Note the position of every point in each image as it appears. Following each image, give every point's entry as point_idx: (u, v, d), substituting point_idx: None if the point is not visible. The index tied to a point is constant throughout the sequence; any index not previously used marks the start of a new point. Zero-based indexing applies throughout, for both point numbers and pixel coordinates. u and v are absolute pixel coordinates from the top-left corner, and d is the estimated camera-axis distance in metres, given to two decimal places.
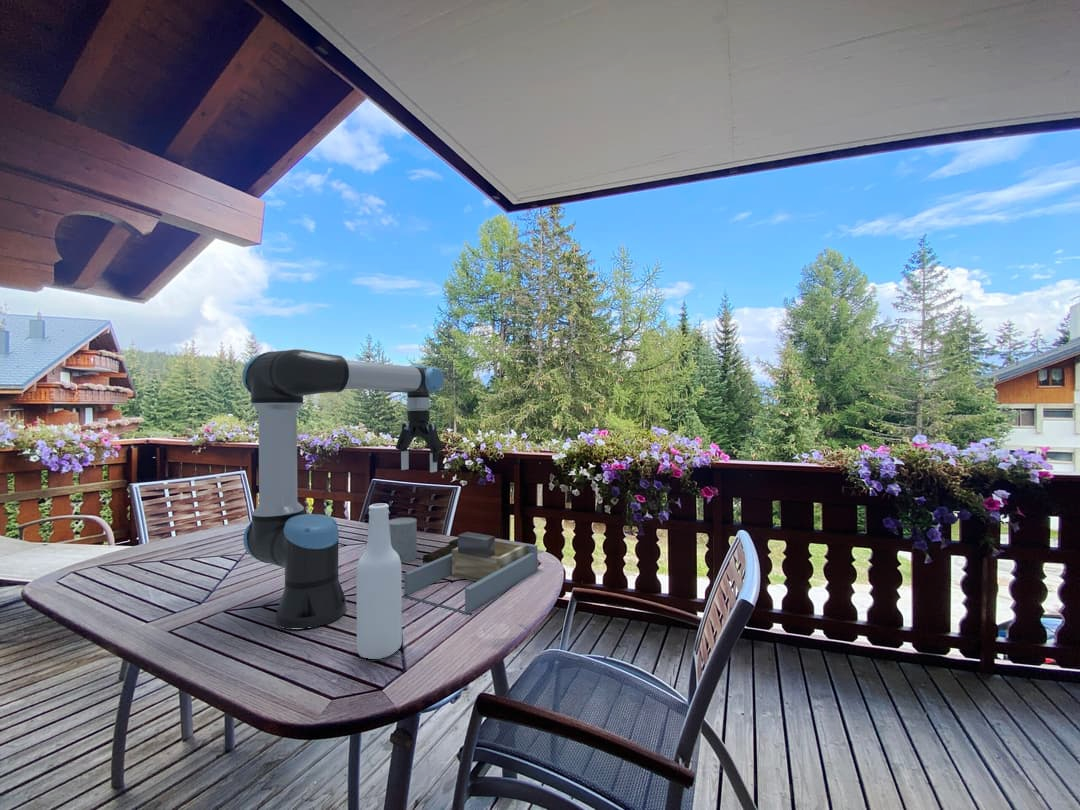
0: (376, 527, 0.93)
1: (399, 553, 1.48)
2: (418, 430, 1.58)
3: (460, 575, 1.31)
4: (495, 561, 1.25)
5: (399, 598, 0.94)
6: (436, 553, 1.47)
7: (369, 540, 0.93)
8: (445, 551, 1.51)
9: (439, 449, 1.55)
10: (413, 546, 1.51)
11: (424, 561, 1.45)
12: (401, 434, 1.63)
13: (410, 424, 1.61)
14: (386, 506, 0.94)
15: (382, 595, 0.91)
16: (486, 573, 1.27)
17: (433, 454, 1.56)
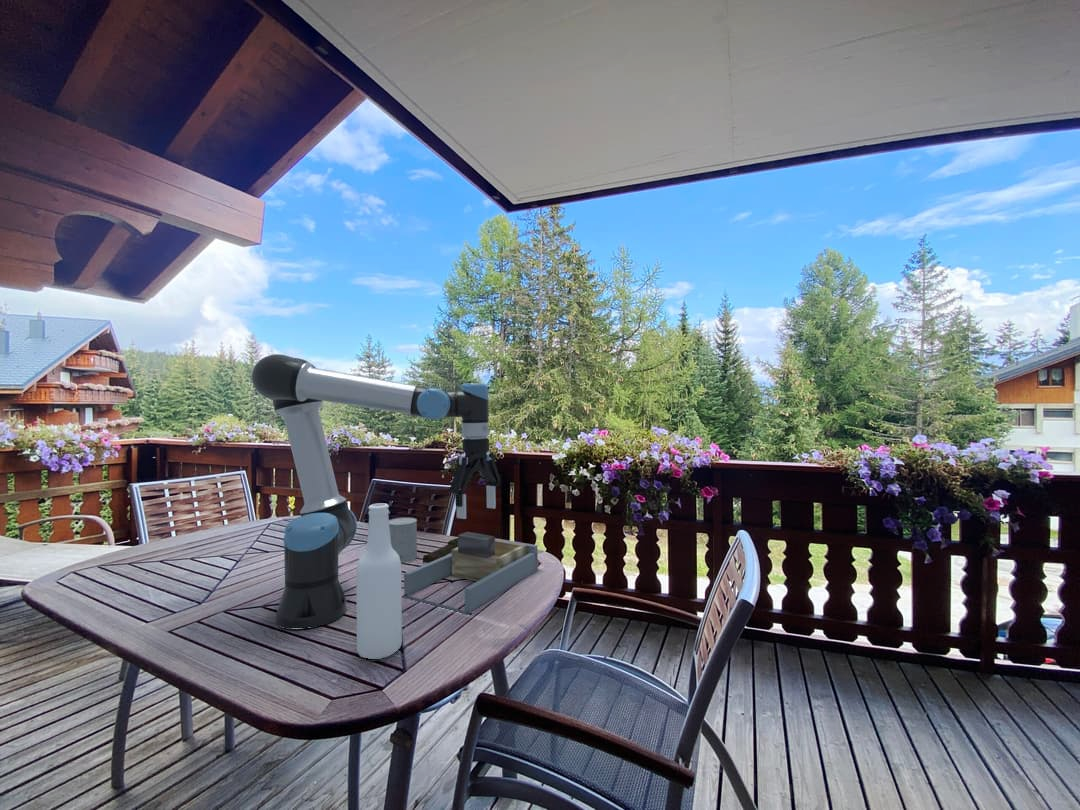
0: (376, 527, 0.93)
1: (399, 553, 1.48)
2: None
3: (460, 575, 1.31)
4: (495, 561, 1.25)
5: (399, 598, 0.94)
6: (436, 553, 1.47)
7: (369, 540, 0.93)
8: (445, 551, 1.51)
9: (451, 491, 1.21)
10: (413, 546, 1.51)
11: (424, 561, 1.45)
12: None
13: None
14: (386, 506, 0.94)
15: (382, 595, 0.91)
16: (486, 573, 1.27)
17: None
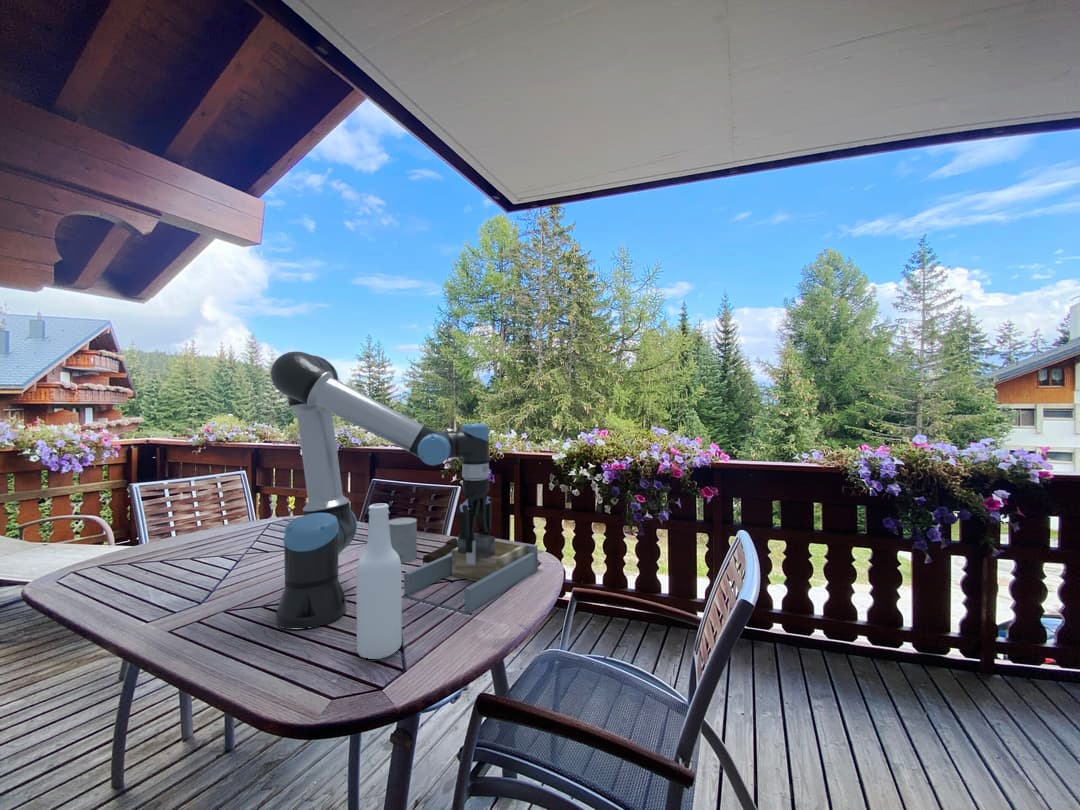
0: (376, 527, 0.93)
1: (399, 553, 1.48)
2: None
3: (460, 575, 1.31)
4: (495, 561, 1.25)
5: (399, 598, 0.94)
6: (436, 553, 1.47)
7: (369, 540, 0.93)
8: (444, 551, 1.51)
9: (461, 537, 1.25)
10: (413, 546, 1.51)
11: (424, 561, 1.44)
12: None
13: None
14: (386, 506, 0.94)
15: (382, 595, 0.91)
16: (486, 573, 1.27)
17: None
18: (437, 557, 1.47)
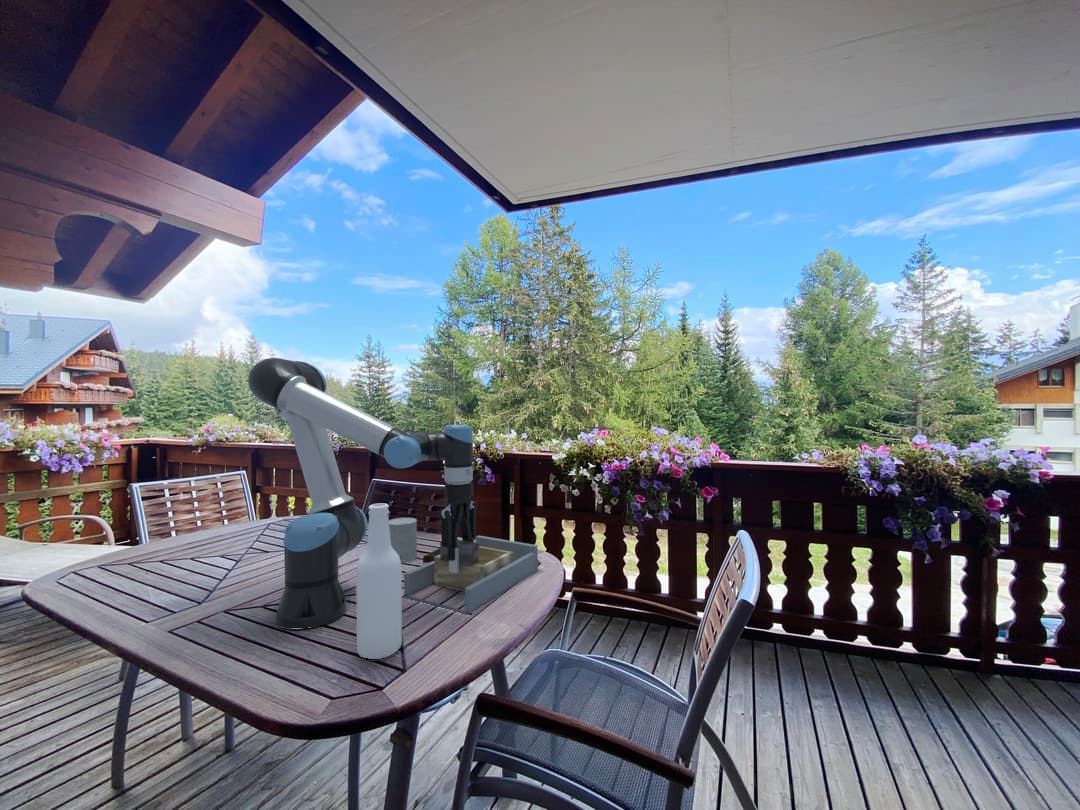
0: (376, 527, 0.93)
1: (399, 553, 1.48)
2: None
3: (443, 584, 1.25)
4: (479, 569, 1.19)
5: (399, 598, 0.94)
6: (436, 553, 1.47)
7: (369, 540, 0.93)
8: None
9: (443, 545, 1.18)
10: (413, 546, 1.51)
11: (425, 561, 1.44)
12: None
13: None
14: (386, 506, 0.94)
15: (382, 595, 0.91)
16: (470, 582, 1.20)
17: None
18: None
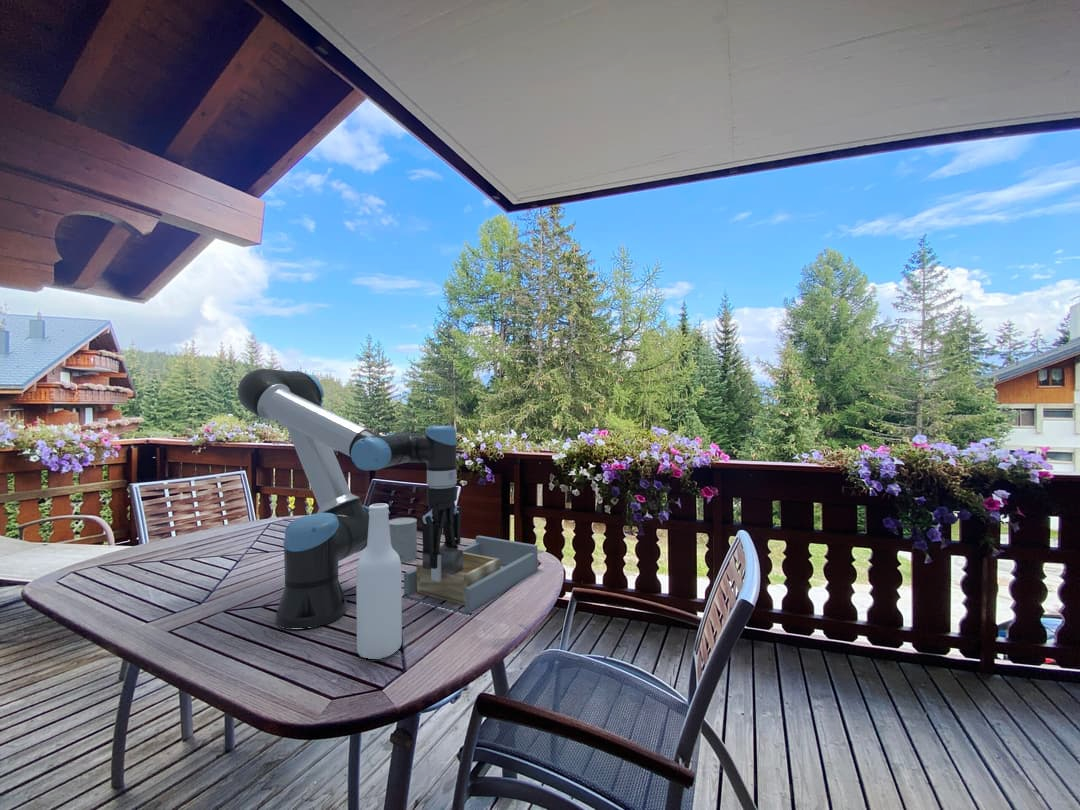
0: (376, 527, 0.93)
1: (399, 553, 1.48)
2: None
3: (425, 592, 1.19)
4: (462, 578, 1.13)
5: (399, 598, 0.94)
6: None
7: (369, 540, 0.93)
8: None
9: (425, 552, 1.13)
10: (413, 546, 1.51)
11: None
12: None
13: None
14: (386, 506, 0.94)
15: (382, 595, 0.91)
16: (453, 591, 1.15)
17: None
18: None
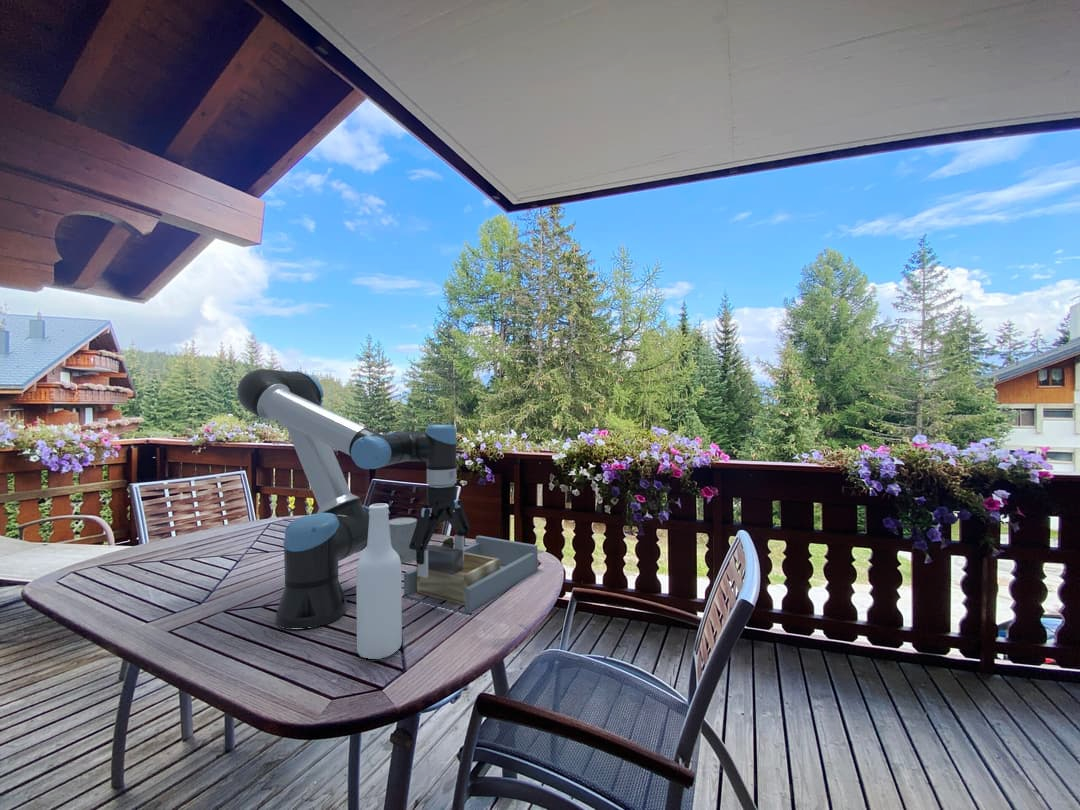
0: (376, 527, 0.93)
1: (399, 553, 1.48)
2: None
3: (425, 592, 1.19)
4: (462, 578, 1.13)
5: (399, 598, 0.94)
6: None
7: (369, 540, 0.93)
8: None
9: (411, 547, 1.09)
10: None
11: None
12: None
13: None
14: (386, 506, 0.94)
15: (382, 595, 0.91)
16: (453, 591, 1.15)
17: None
18: None
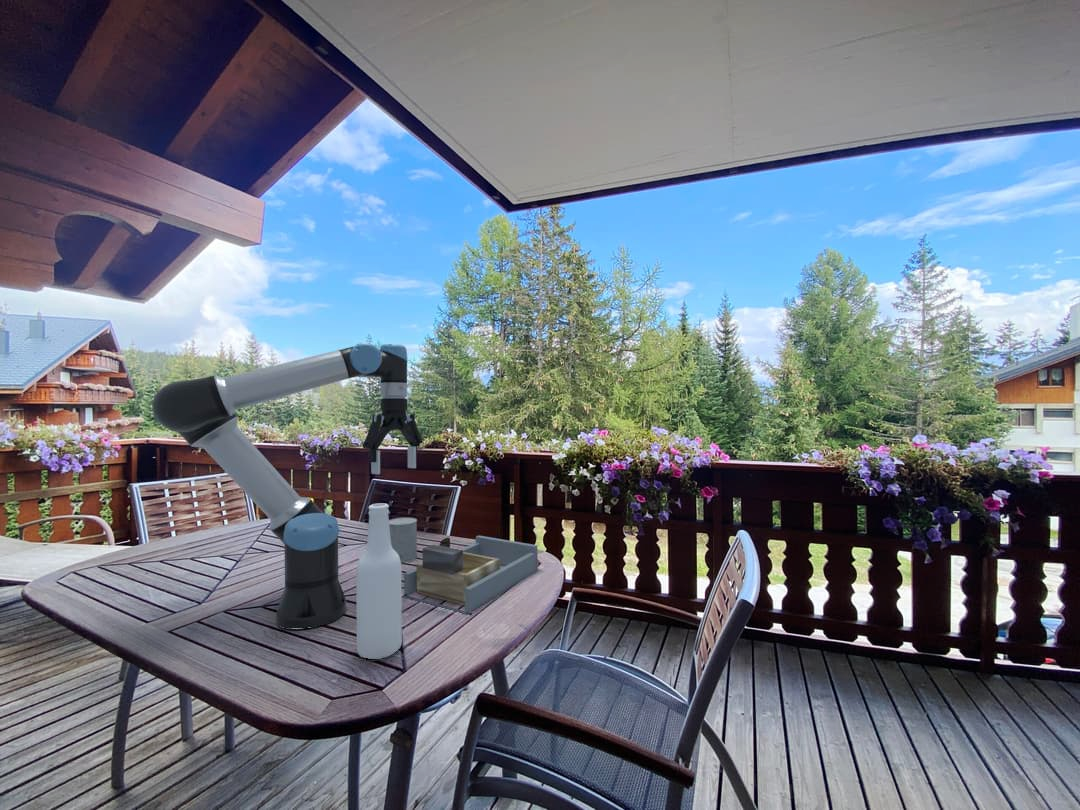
0: (376, 527, 0.93)
1: (399, 553, 1.48)
2: None
3: (425, 592, 1.19)
4: (462, 578, 1.13)
5: (399, 598, 0.94)
6: None
7: (369, 540, 0.93)
8: None
9: (364, 446, 1.25)
10: (413, 546, 1.51)
11: None
12: None
13: None
14: (386, 506, 0.94)
15: (382, 595, 0.91)
16: (453, 591, 1.15)
17: None
18: None
